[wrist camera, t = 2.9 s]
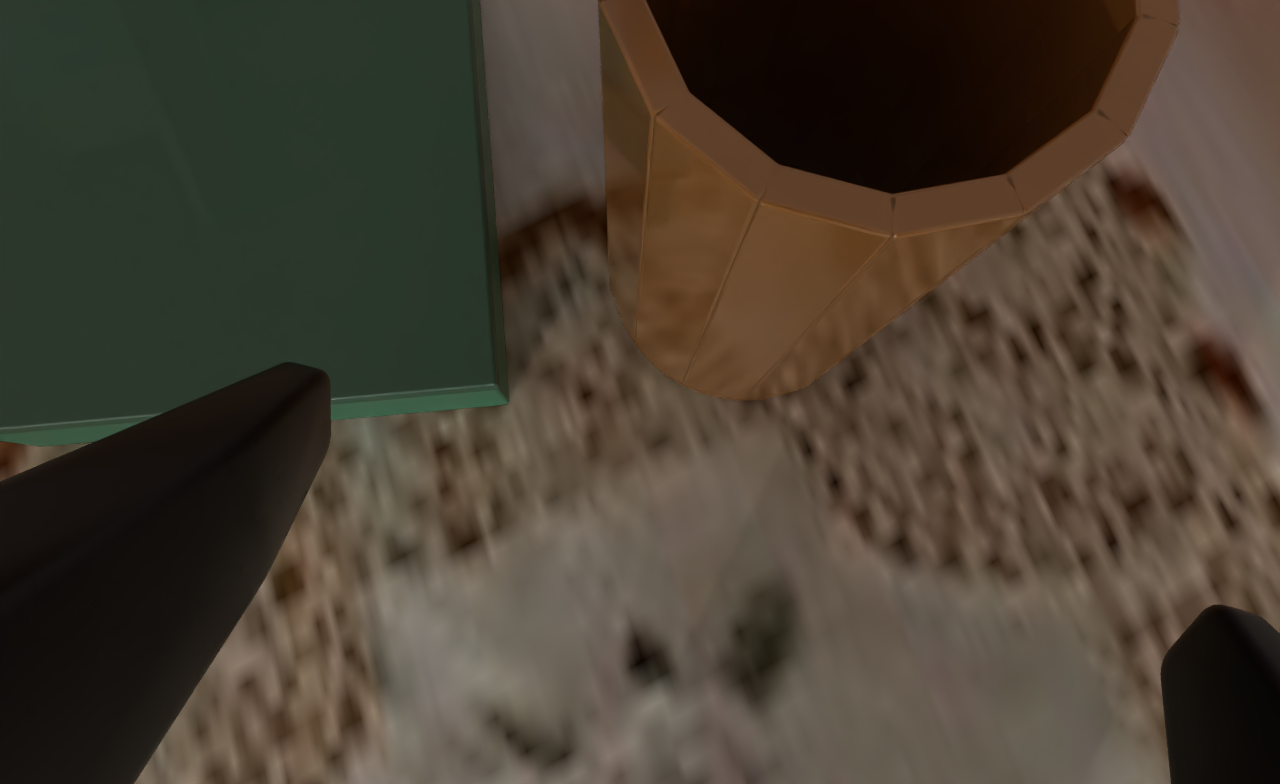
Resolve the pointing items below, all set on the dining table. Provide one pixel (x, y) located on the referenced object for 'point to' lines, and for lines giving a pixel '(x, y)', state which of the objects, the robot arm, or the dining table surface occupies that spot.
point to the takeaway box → (243, 207)
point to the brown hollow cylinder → (839, 160)
